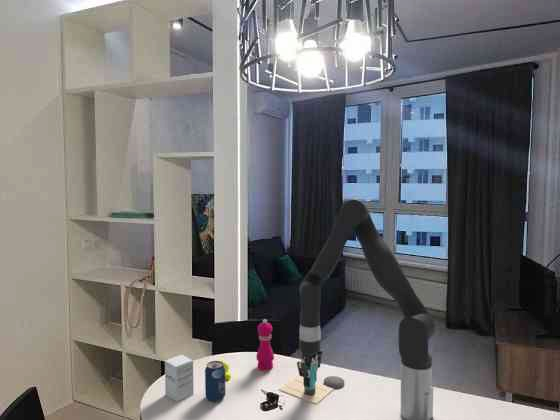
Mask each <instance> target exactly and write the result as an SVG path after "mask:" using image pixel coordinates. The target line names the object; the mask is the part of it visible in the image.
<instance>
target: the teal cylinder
mask: <svg viewBox="0 0 560 420" xmlns="http://www.w3.org/2000/svg"><path fill="white" fill-rule="evenodd" d="M305 367H307V368H309V367H308V366H305ZM306 372H308V371H307V370H306ZM316 383H317V378H316V360H314V362H313V365H312V370H311V371H310V387H305V386H304V393H305V394H306V395H314V394H315V384H316Z"/></svg>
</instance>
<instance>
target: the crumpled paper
mask: <svg viewBox="0 0 560 420" xmlns="http://www.w3.org/2000/svg"><path fill="white" fill-rule="evenodd" d="M221 362H223V365H224V367H225V381H230V380H231V379H232V378H231V377H232V374H231V373H230V372H229V369H230V368H229V365H228V364H227V363H226V362H225V361H224V359H221Z"/></svg>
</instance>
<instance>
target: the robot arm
mask: <svg viewBox="0 0 560 420" xmlns="http://www.w3.org/2000/svg"><path fill="white" fill-rule="evenodd" d="M352 234H354V236H355V237H356V239H357V240H358V242H359V244H360V248H361V249H362V253H363V256H364V258H365V261H366V263H367V267H368V268H369V270H370V271H371V273H372V275H373V277H374V279H375V281H376V283H377V284H378V285H379V286H380V287H381V288H382V289H383V290H384V291H385V292H386V293H387V294H388V295H389V296H390V297H392V299H393V300H394V301H395V302H396V304H397V305H398V307H399V309H400V310H401V313H402V314H403V317H404V318H402V319H401V321H400V323H399V325H398V353H399V356H400V408H399V409H400V415H401V417H402V418H403V419H404V420H432V418H433V417H434V414H433V413H434V387H433V386H432V375H433V374H432V373H433V372H432V370H433V369H432V368H433V367H432V365H433V359H432V355H431V354H430V353H429V340H430V339H431V338H432V337H433V336H434V334H435V332H436V323H435V321H434V318H433V316H432V315H431V314H430V313H429V311H428V310H427V308H426V307H425V305H424V304H423V303H422V301H421V300H420V298H419V297H418V296H417V293H416V292H415V290H414V289H413V287H412V285H411V283H410V281H409V280H408V277H407V276H406V274H405V273H404V271H403V268H402V267H401V265H400V263H399V261H398V260H397V257H396V256H395V254H394V253H393V252H392V250H391V248H390V247H389V246H388V244H387V242H386V241H385V240H384V239H383V237H382V236H381V235H380V233H379V231H378V230H377V228H376V226H375V224H374V221H373V219H372V217H371V214H370V211H369V209H368V207H367V205H366V204H365V203H364V202H363V201H362V200H359V199H357V198H350V199H347V200H345V202H344V203H342V205H341V207H340V209H339V213H338V215H337V218H336V221H335V224H334V225H333V228H332V229H331V232H330V233H329V236H328V238H327V240H326V241H325V244H324V245H323V247H322V249H321V250H320V252H319V254H318V256H317V257H316V259H315V261H314V262H313V264H312V267H311V269H310V270H308V272H307V274H306V275H305V276H304V278H303V279H302V281H301V282H300V284H299V287H298V288H299V289H298V290H299V294H300V312H299V331H298V332H299V343H298V345H299V347H298V348H299V350H300V352H301V353H302V354H301V360H300V361H297V362H296V366H297V367H296V368H297V371H298V376H299V377H302V378H303V381H304V382H303V384H304V386H305V387H310V371H311V370H312V365H313V362H314V360H316V379H317V376H318V375H317V373H318V370H319V369H320V368H321V364H322V363H321V362H322V358H323V357H322V356H323V350H321V348H322V347H321V345H322V343H321V342H322V341H321V340H322V339H321V338H322V336H321V333H322V332H321V319H320V318H321V316H320V310H321V302H322V301H321V297H322V295H321V294H322V292H321V288H322V285H323V284H324V283H325V281H326V280H327V279H329V278H330V276H331V275H332V273H333V272H334V270H335V269H336V267H337V265H338V263H339V261H340V259H341V257H342V253H343V250H344V248H345V245H346V243H347V242H348V240H349V238H350V237H351V235H352ZM305 366H308V367H309V368H307V367H305ZM306 370H307V371H308V372H306Z"/></svg>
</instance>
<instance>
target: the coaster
mask: <svg viewBox="0 0 560 420" xmlns="http://www.w3.org/2000/svg"><path fill="white" fill-rule="evenodd" d="M323 385H325V386H328V387H331V388H334V389H340V388H342V387H344V386H345V379H343V378H342V377H340V376H335V375H331V376H327V377H325V378H324V379H323Z"/></svg>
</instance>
